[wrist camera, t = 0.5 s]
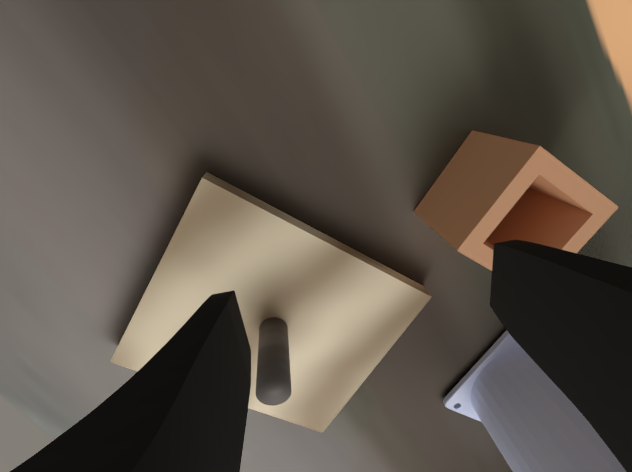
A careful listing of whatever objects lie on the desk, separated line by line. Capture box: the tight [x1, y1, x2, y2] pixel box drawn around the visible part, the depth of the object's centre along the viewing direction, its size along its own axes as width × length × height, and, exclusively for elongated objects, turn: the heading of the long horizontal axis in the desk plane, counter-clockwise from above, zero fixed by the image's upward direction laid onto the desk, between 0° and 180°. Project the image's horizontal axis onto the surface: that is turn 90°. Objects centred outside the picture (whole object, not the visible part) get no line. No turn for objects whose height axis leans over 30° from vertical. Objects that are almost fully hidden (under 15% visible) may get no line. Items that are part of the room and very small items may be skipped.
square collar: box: [414, 130, 619, 271], centre depth 17 cm, size 5×5×5 cm
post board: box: [110, 172, 431, 433], centre depth 18 cm, size 14×12×6 cm
